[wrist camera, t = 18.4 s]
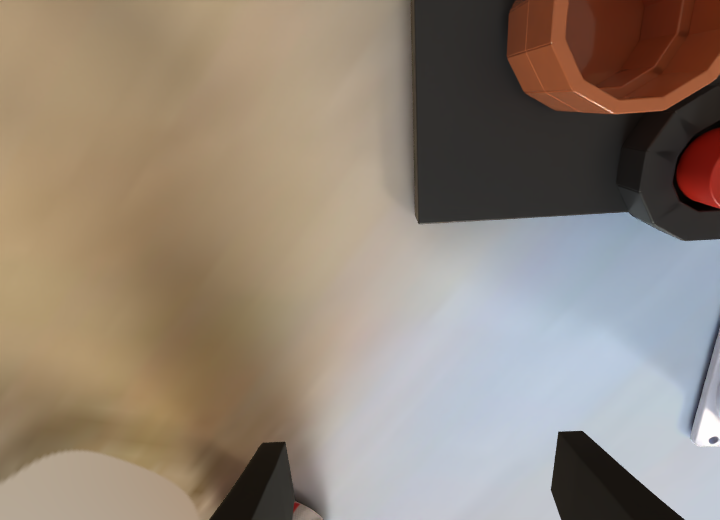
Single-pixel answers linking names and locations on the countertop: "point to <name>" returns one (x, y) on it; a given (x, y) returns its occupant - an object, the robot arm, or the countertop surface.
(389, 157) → the countertop surface
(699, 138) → the button
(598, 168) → the scale
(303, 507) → the soda can
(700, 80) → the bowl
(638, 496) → the robot arm
